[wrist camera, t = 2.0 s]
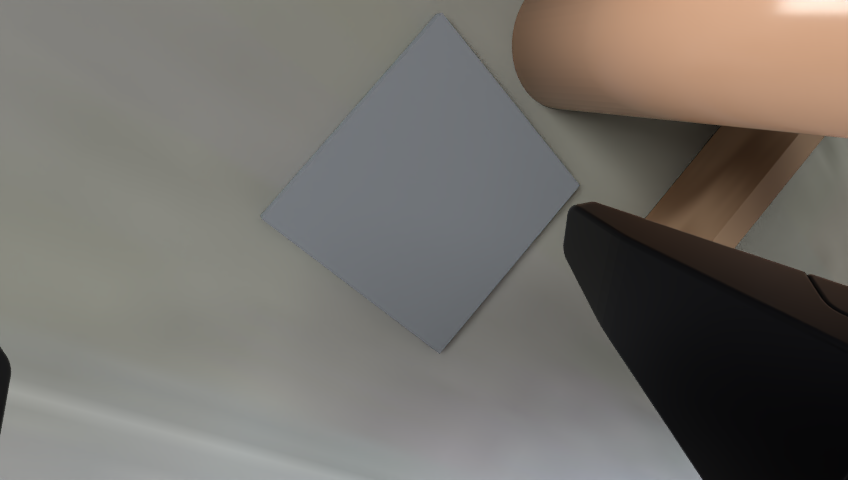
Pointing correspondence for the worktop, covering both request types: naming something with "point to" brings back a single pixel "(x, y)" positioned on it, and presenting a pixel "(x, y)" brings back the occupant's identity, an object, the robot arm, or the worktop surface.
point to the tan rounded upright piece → (690, 60)
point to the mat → (426, 188)
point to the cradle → (732, 182)
